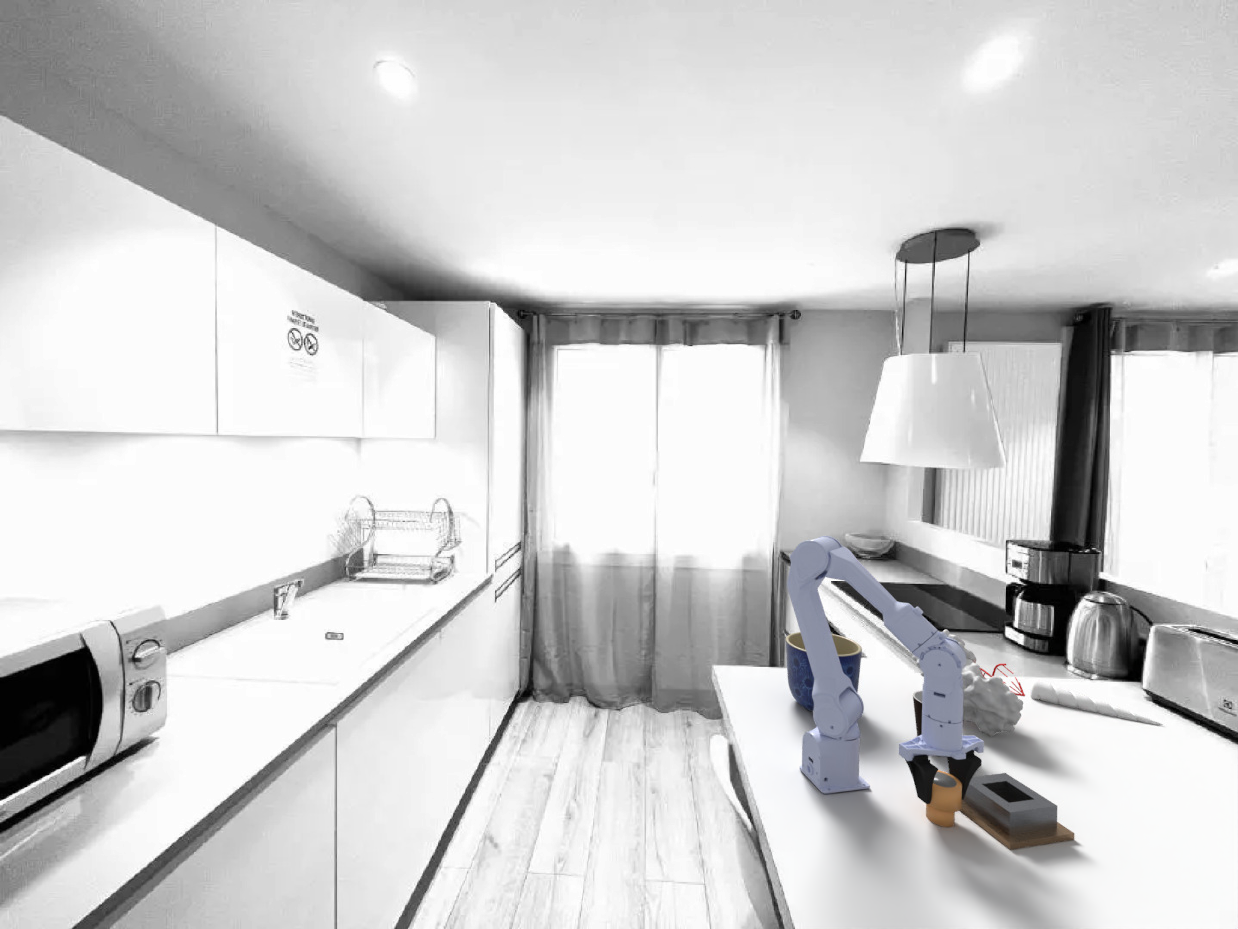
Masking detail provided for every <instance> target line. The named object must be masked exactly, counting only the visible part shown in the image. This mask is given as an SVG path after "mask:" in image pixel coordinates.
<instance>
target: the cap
mask: <svg viewBox="0 0 1238 929" xmlns="http://www.w3.org/2000/svg"><path fill="white" fill-rule="evenodd" d="M961 806H962V784H961V782H960V781H959V780H958V779H957V778H956V777H954V776H953V775H951V774H949V772H946V771H943V770H939V769H938V771H937V773H936V775H935V778H934V781H933V786H932V799H931V803H930V804H926V803H925V817H926V818H927V819H928V821H929V822H932V823H933V824H935V825H936V826H938V827H939V826H940V827H942V828H952V827H954V826H955V816H956V815H955V814H956V813H957V812H961V811H960V810H961Z"/></svg>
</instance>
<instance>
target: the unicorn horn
mask: <svg viewBox="0 0 1238 929" xmlns="http://www.w3.org/2000/svg"><path fill="white" fill-rule="evenodd" d="M1029 688H1030V689H1029V695H1030V698H1031V699H1033V700H1037V699H1038V700H1037V701H1040V700H1041V701H1042V702H1047V703H1051V704H1055V705H1059V704H1060V706H1064V707H1069V708H1073V709H1078V708H1079V710H1083V711H1087V712H1092V713H1098V714H1101V715H1105V716H1110V717H1114V718H1115V717H1116V718H1117V717H1119V718H1120V719H1125V720H1130V721H1133V722H1134V721H1135V722H1140V723H1143V724H1149V725H1155V726H1163V725H1164V724H1162V723H1161V722H1159V721H1157V720H1154V719H1150V718H1149V717H1146V716H1144V715H1140V714H1138V713H1136V712H1134V711H1130V710H1127V709H1124V708H1121V707H1118V706H1116V705H1112V704H1110V703H1107V702H1104V701H1102V700H1098V699H1096V698H1092V697H1089V696H1087V695H1084V694H1080V693H1077V692H1076V691H1070V689H1066V688H1063V687H1061V686H1057V685H1054V684H1052V683H1049V682H1046V681H1043V680H1040V679H1036V678H1032V680H1031V682H1030V687H1029ZM1039 699H1040V700H1039Z"/></svg>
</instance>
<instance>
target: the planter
mask: <svg viewBox="0 0 1238 929" xmlns="http://www.w3.org/2000/svg"><path fill="white" fill-rule="evenodd" d="M831 635H832V638H833V641H834V644H835V648H836V651H837V654H838V657H839V661H840V664H841V667H842V670H843V673H844V674H845V675H846V676H847V677H849V678H850V680H851V682H852V685H853V687H854V689H855V691H856V692H857V693H858V692H859V683H860V672H861V664H862V663H861V662H862V653H863V648H862V646H861V645H860V644H859V643H858V642H857V641H855V640H852V638H847V637H845V636H842V635H838V634H833V633H831ZM785 649H786V650H785V652H786V654H785V655H786V669H787V670H786V671H787V684H788V687H789V691H790V693H791V695H792V697H793V699H794V700H795V701H796V702H797V703H798V705H799V706H801V707H803V708H804V709H806V710H808V711H811V712H813V710H814V701H813V698H812V691H813V686H814V676H813V673H812V669H811V666H810V663H809V659H808V656H807V652H806V649H805V646H804V642H803V639H802V636H801V632H800V631H798V632H794V633H790V634H789V635H787V636H786V637H785ZM858 694H859V693H858Z"/></svg>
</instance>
